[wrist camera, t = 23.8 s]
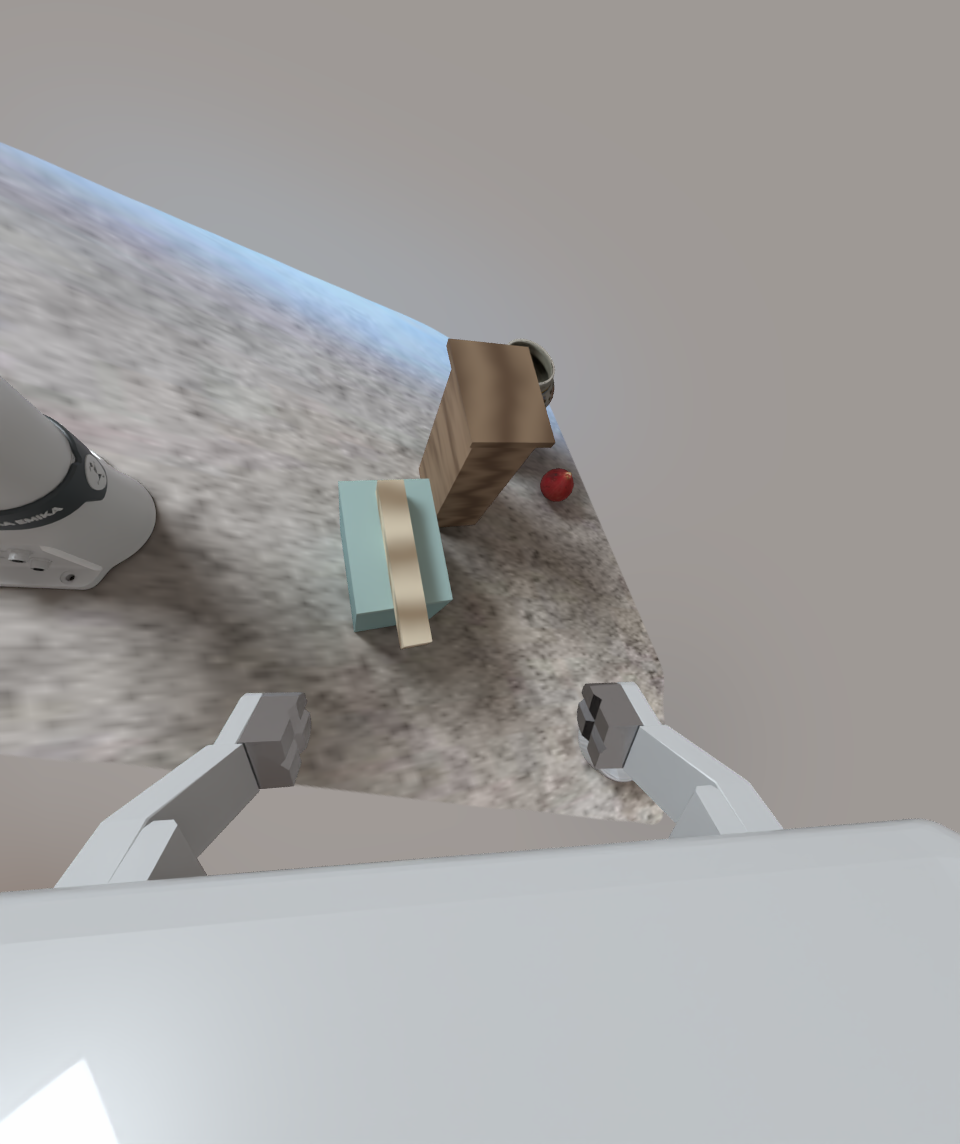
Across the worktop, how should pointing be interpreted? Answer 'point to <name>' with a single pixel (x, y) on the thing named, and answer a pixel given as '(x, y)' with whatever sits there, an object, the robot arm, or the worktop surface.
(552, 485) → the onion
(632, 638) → the worktop surface
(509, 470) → the tall stand
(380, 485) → the rod
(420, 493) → the low block
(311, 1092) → the robot arm
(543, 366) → the apothecary jar
